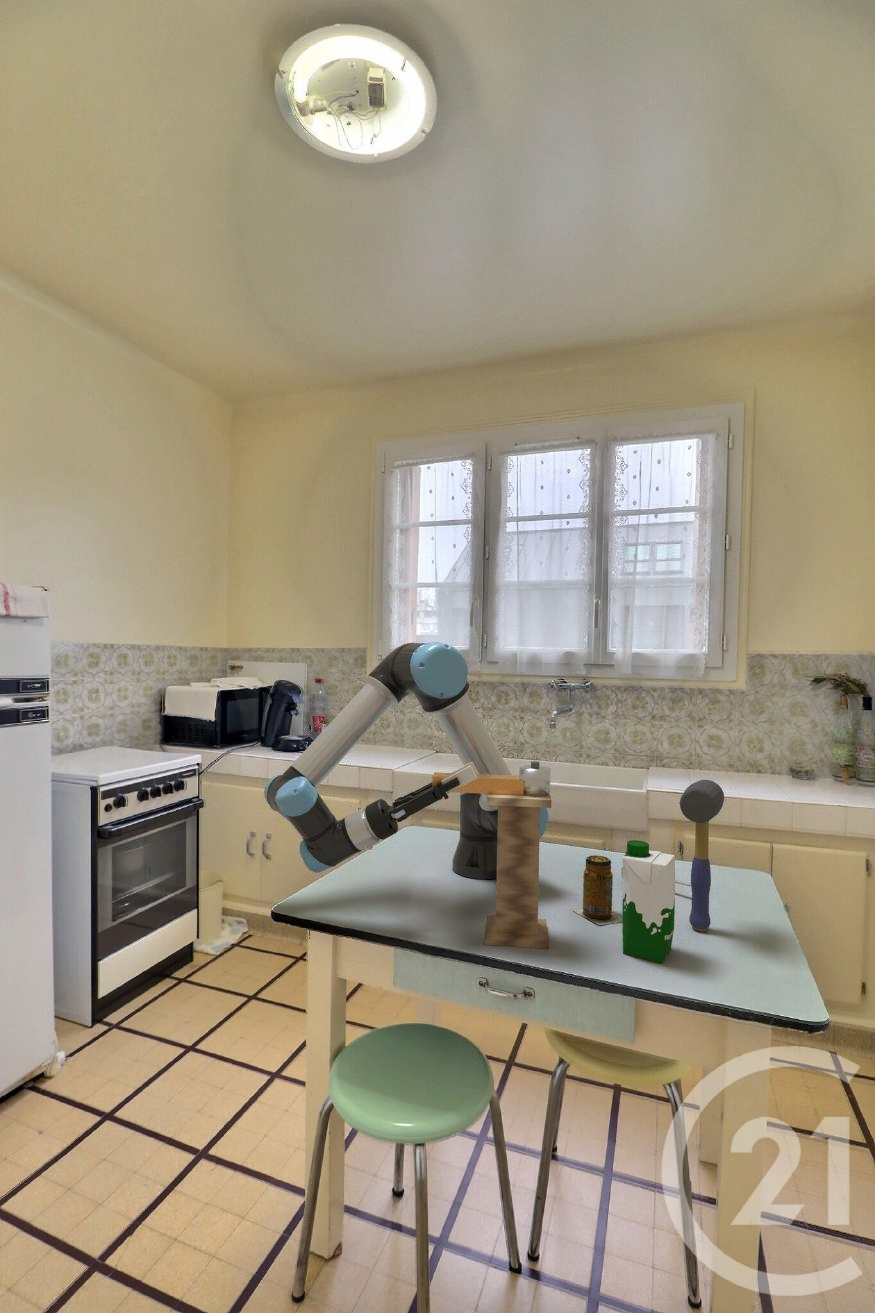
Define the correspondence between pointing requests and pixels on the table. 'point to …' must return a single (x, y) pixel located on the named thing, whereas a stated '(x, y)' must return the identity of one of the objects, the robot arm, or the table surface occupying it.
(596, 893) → the condiment
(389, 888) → the table surface
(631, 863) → the milk carton
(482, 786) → the wooden handle
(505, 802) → the walnut stand
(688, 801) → the rubber mallet
